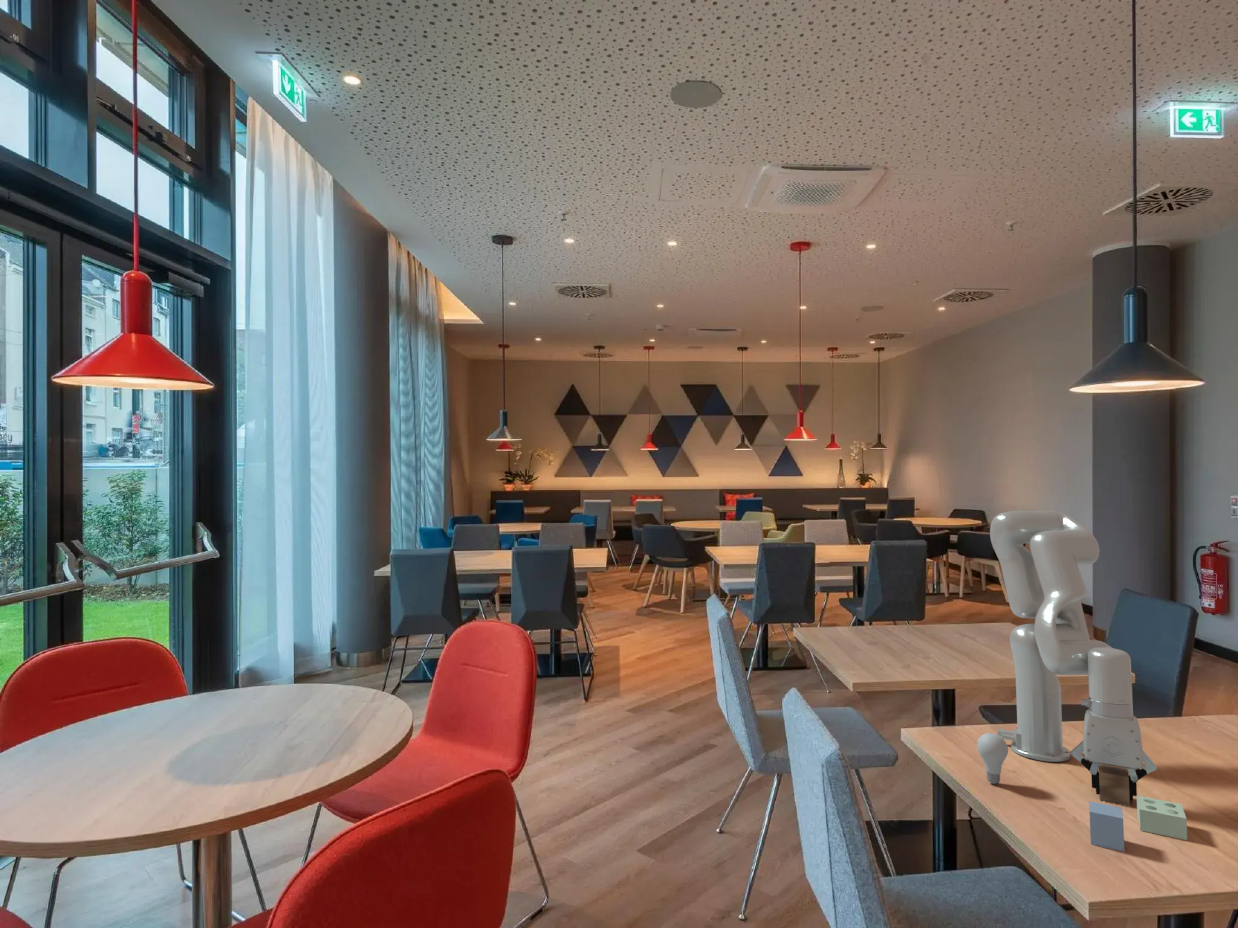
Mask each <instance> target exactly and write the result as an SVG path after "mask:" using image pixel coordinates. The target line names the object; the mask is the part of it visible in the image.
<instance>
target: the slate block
mask: <svg viewBox="0 0 1238 928" xmlns="http://www.w3.org/2000/svg"><path fill="white" fill-rule="evenodd" d="M1088 803H1089V804H1088V806H1089V807H1088V808H1089V809H1088V811H1089V828H1090V830H1089V832H1090V845H1091V846H1092V845H1093V846H1097V847H1099V848H1104V849H1110V850H1113V851H1118V852H1123V853H1125V836H1124V835H1125V833H1124V831H1125V830H1124V817H1123V816H1124V815H1123V810H1122V809H1123V808H1122V807H1121V806H1115V805H1110V804H1105V803H1100V802H1095V801H1088Z"/></svg>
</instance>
